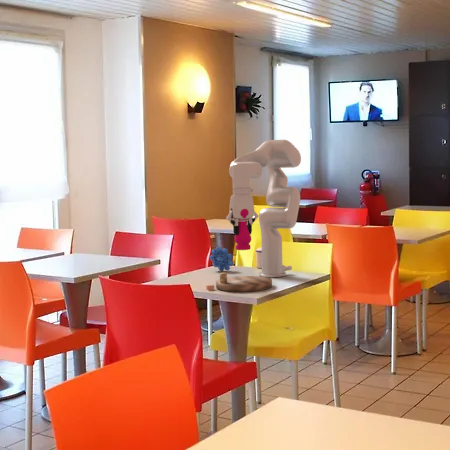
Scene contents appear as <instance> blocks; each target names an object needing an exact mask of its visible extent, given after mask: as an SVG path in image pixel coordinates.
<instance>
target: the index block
mask: <svg viewBox="0 0 450 450" xmlns="http://www.w3.org/2000/svg"><path fill="white" fill-rule="evenodd" d="M205 288H206V289H205V290H206V291H207V290H209V291H215V285H214V284H206V285H205Z"/></svg>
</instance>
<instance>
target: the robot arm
mask: <svg viewBox="0 0 450 450" xmlns="http://www.w3.org/2000/svg"><path fill="white" fill-rule="evenodd" d="M301 161H302V156H301V153H300V151H299V150H298V148H297V147H296V146H295V145H294V144H293V143H292V142H291V141H289V140H287V139H269V140H265V141H264V142H262V143H261V144H260V145H259V146H258V147H257V148H256V149H255V150H253V151H249V152H248V153H245V154H243V155H239V156H238V157H237V158H234V160H233V161H231V163H230V165H229V168H228V173H229V176H230V177H231V178H232V195H230V200H229V208H228V209H229V211H228V214H227V216H225V219H226V220H227V221H228V222H229V223H230V224H231V225H232V226H233V227H232V228H233V234H234V236H235V235H239V226H238V221H239V219H241V218H243V217H242V216H241V215H240V212H241V210H242V209H247V210H248V212H249V214H248V216H247V217H246V218H248V221H247V228H248V231H249V233H250V235H252V232H253V224H254V222H256V220H257V219H258V223H259V226H260V234H261V235H260V237H261V240H260V241H261V247H262V269H261V272H258V276H259V277H267V278H281V277H285V276H286V275H287V271H291V270H292V269H293V267H292V265H287V266H286V265H285V264H283V237H282V235H281V233H280V231H279V230H278V229H286V230H287V229H293V228H294V227H295V226H296V224H297V221H298V220H297V219H298V215H299V210H300V206H301V205H300V203H301V194H300V193H301V192H300V190H299V189H298V188H297V187H294V186H288V183H289V182H288V181H289V180H288V177H287V175H286V174H285V172H284V170H282V168H283V169H285V168H296V167H299V166H300V165H301ZM265 167H266V169H267V171H268V174H269V181H268V187H267V191H266V198H265V199H266V200H265V202H266V204H267V206H268V207H265V208H262V209H261V210H260V211H259V213H257V212H256V211H255V205H254V198H253V194H252V192H254V188H252V187H251V180H257V179H259V178H260V177H261V176H262V174H263V168H265Z"/></svg>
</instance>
